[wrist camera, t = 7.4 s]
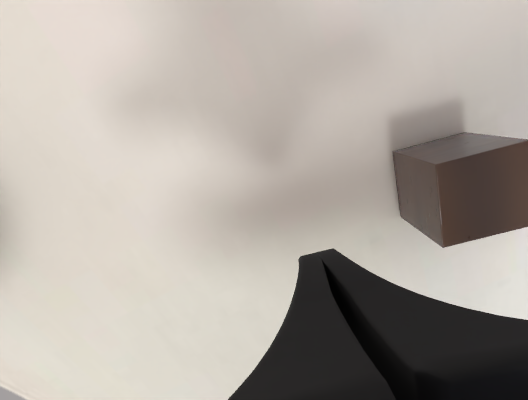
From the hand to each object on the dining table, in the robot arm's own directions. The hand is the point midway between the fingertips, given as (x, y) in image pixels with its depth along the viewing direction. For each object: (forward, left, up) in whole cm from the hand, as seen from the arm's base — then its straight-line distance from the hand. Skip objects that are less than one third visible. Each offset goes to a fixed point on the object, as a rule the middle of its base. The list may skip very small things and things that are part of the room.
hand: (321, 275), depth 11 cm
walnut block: (-9, 0, -8) cm, 12 cm away
